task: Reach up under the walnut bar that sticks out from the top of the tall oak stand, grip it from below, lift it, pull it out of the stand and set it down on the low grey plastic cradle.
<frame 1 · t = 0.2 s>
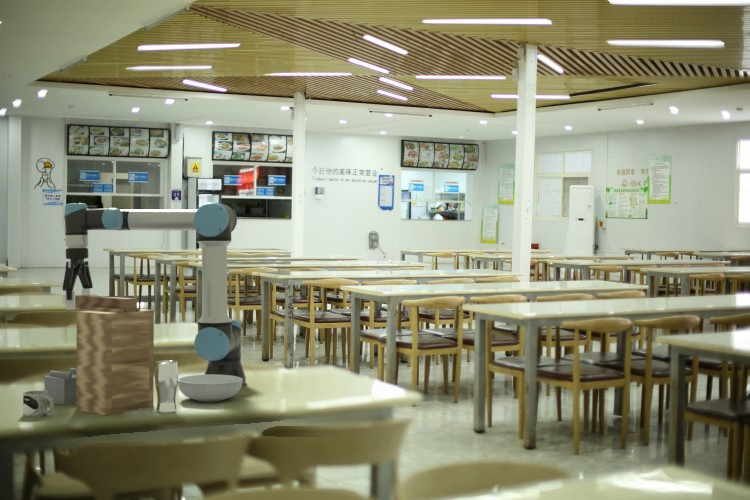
hand: (78, 308, 311), 28 cm above the table, tool pointing down, fingers open, 13 cm apart
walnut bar: (105, 309, 277), point 30 cm above the table, touching oak stand
serving bowl: (210, 400, 291), on the table
mug: (39, 415, 263), on the table
beer glass: (166, 411, 270), on the table
oak stand: (115, 408, 275), on the table
grey cradle: (70, 400, 287), on the table
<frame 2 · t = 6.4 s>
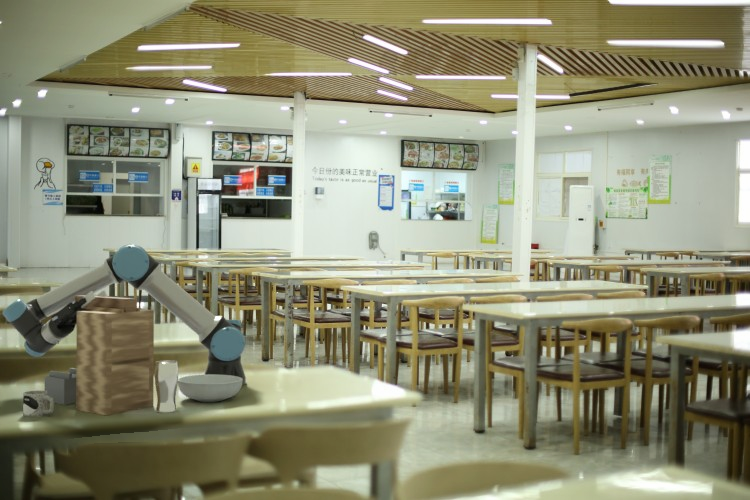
hand: (99, 294, 278), 35 cm above the table, tool pointing upward, fingers closed on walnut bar, 4 cm apart
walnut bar: (105, 309, 277), point 30 cm above the table, touching gripper, oak stand
everything else where it was.
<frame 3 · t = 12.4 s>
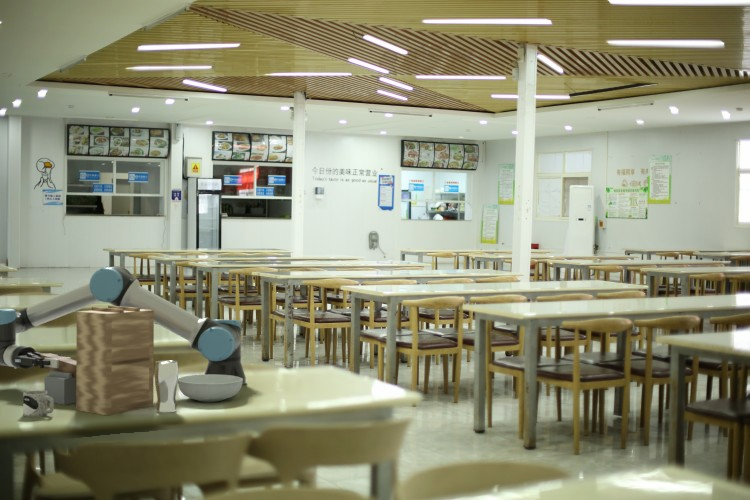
hand: (64, 362, 289), 12 cm above the table, tool horizontal, fingers closed on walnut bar, 4 cm apart
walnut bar: (67, 372, 288), point 9 cm above the table, tilted 6°, touching grey cradle, gripper
everything else where it was.
when the fingers open (11 cm above the table, at t = 12.7 s): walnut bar stays where it is, resting on grey cradle.
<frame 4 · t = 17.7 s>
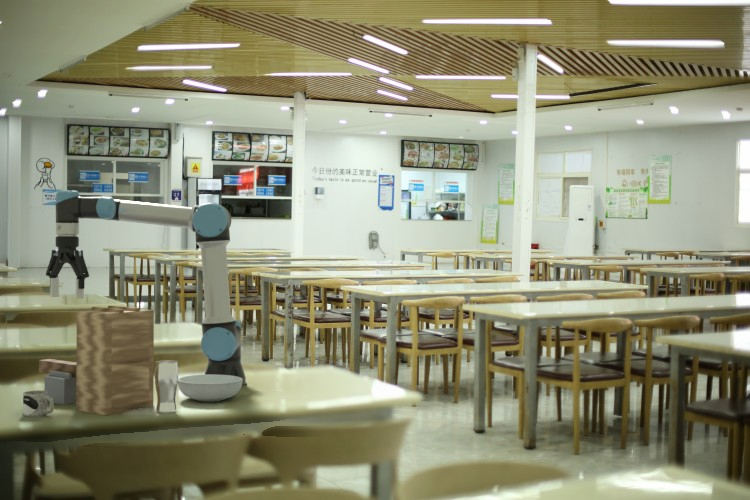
hand: (67, 297, 305), 32 cm above the table, tool pointing down, fingers open, 13 cm apart
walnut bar: (67, 375, 288), point 8 cm above the table, touching grey cradle
everything else where it was.
at the end: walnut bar inside the target area on the grey cradle (1.6 cm from its centre), point 8.0 cm above the grey cradle's base; the gripper is holding nothing; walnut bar touching grey cradle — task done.
